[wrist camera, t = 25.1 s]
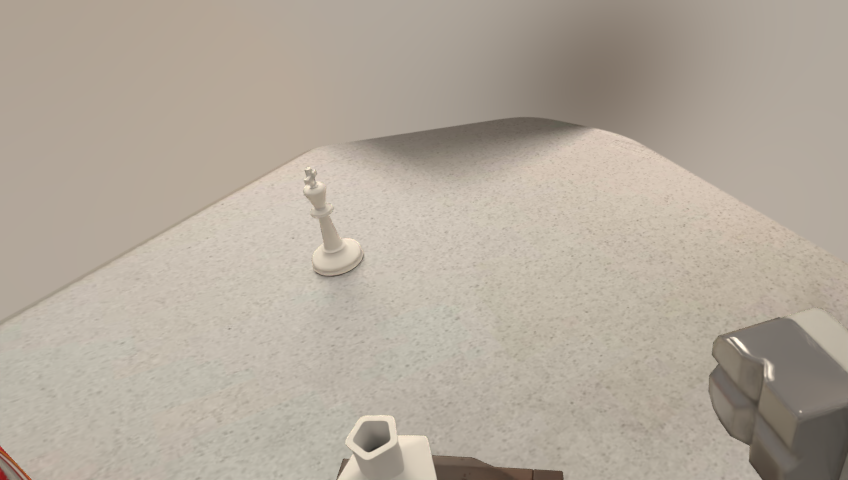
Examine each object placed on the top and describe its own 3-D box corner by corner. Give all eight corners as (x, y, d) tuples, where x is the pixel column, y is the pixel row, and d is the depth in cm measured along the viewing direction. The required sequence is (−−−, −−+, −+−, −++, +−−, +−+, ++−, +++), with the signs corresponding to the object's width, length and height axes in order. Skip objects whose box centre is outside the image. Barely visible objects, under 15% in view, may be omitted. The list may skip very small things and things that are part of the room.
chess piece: (304, 275, 60) (270, 185, 55) (324, 242, 64) (293, 155, 58) (353, 276, 59) (323, 183, 53) (370, 243, 63) (343, 153, 57)
